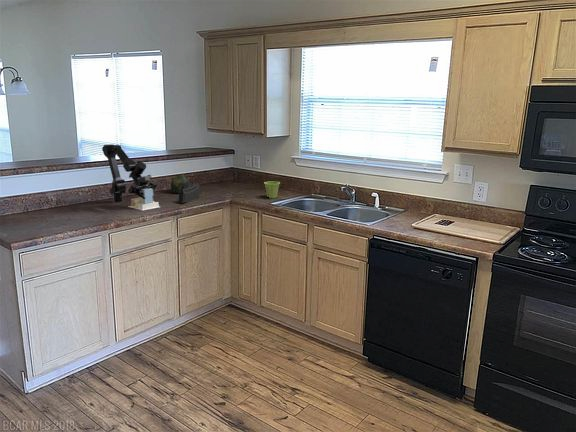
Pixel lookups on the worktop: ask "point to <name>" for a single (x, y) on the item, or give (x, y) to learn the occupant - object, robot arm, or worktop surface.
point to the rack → (146, 206)
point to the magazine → (189, 193)
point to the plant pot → (272, 189)
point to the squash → (179, 183)
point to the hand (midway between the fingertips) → (149, 198)
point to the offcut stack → (136, 202)
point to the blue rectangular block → (148, 196)
